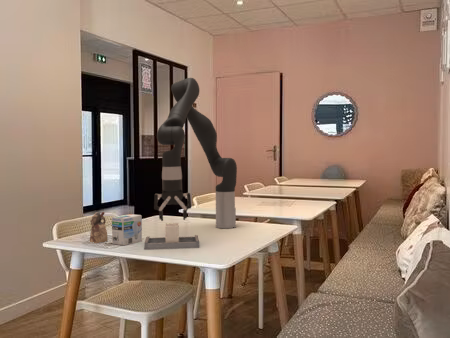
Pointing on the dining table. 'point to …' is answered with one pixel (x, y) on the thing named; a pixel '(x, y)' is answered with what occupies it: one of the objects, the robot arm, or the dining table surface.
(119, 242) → the light bulb box
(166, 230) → the block
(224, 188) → the robot arm
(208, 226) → the dining table surface
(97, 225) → the figurine
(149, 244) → the grey flat rectangular frame
